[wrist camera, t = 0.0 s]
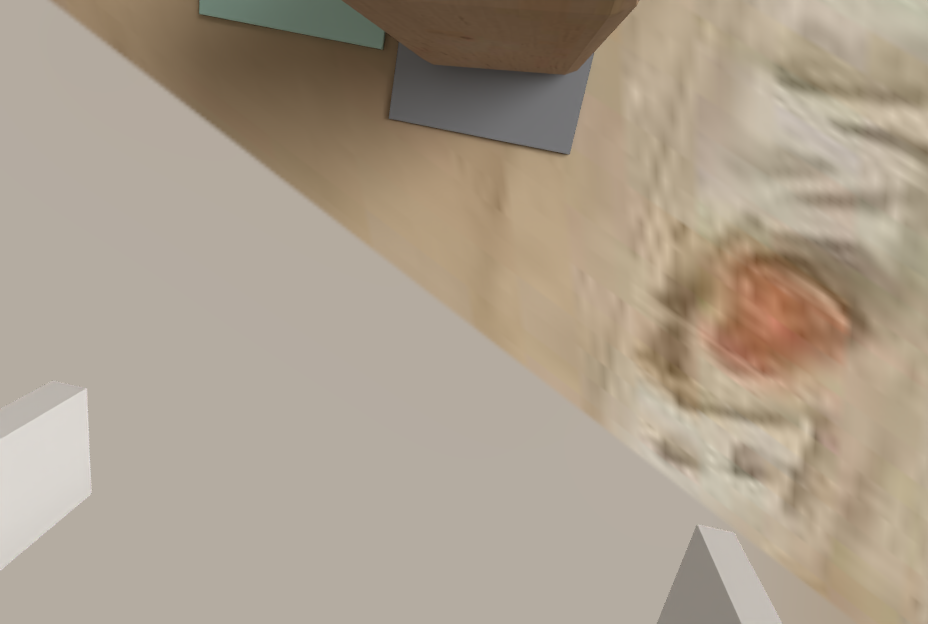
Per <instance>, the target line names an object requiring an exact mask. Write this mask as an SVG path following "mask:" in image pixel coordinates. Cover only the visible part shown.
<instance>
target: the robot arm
mask: <svg viewBox="0 0 928 624" xmlns="http://www.w3.org/2000/svg"><path fill="white" fill-rule="evenodd" d="M88 428H89V425H88V403H87V388H84V387H80V386H76V385H71V384H67V383H62V382H57V381H53V380H52V381H51V382H49V383H47V384H45V385H43V386H41V387H39V388H37V389H36V390H34V391H32V392H30V393H28V394H26V395H24V396H22V397H21V398H19V399H17V400H15V401H13V402H11V403H9V404H7V405H6V406H4V407H2V408H0V570H2V569H3V568H4V567H5V566H6V565H7V564H9V563H10V562H11V561H12V560H14V559H15V558H16V557H17V556H18V555H19V554H20V553H22V552H23V551H24V550H25V549H27V548H28V547H29V546H30V545H31V544H33V543H34V542H35V541H36V540H37V539H38V538H40V537H41V536H42V535H43V534H44V533H45V532H47V531H48V530H49V529H50V528H51V527H53V526H54V525H55V524H56V523H57V522H58V521H60V520H61V519H62V518H63V517H65V516H66V515H67V514H68V513H69V512H70V511H71V510H73V509H74V508H75V507H76V506H77V505H79V504H80V503H81V502H82V501H84V500H85V499H86V498H87V497H88V496H89V495H91V471H90V450H89V449H90V448H89V429H88ZM657 624H782V622H781V620H780V618H779V616H778V614H777V612H776V611H775V609H774V607H773V605H772V603H771V601H770V599H769V597H768V595H767V593H766V592H765V590H764V588H763V586H762V584H761V582H760V580H759V578H758V577H757V575H756V573H755V571H754V569H753V567H752V565H751V563H750V561H749V559H748V557H747V556H746V554H745V552H744V550H743V548H742V546H741V544H740V542H739V541H738V538H737V537H736V535H735V533H734V532H730V531H726V530H721V529H717V528H712V527H708V526H703V525H699V524H697V526H696V528H695V531H694V533H693V536H692V538H691V541H690V543H689V546H688V548H687V550H686V553H685V556H684V558H683V560H682V563H681V565H680V568H679V570H678V573H677V575H676V578H675V580H674V583H673V585H672V587H671V590H670V592H669V595H668V597H667V600H666V602H665V605H664V607H663V610H662V612H661V615H660V617H659V620H658V622H657Z"/></svg>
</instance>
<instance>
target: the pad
mask: <svg viewBox="0 0 928 624" xmlns="http://www.w3.org/2000/svg"><path fill="white" fill-rule="evenodd" d="M199 14H202V15H207V16H212V17H217V18H222V19H227V20H232V21H237V22H243V23H248V24H253V25H258V26H263V27H268V28H273V29H279V30H284V31H289V32H294V33H299V34H304V35H309V36H315V37H320V38H325V39H330V40H335V41H340V42H345V43H351V44H356V45H361V46H366V47H371V48H376V49H381V50H383V48H384V40H385V31H383V30H382V29H381V28H379V27H378V26H377V25H375V24H374V23H372V22H371V21H370V20H368V19H367V18H365V17H364V16H363V15H361V14H360V13H359V12H357V11H356V10H354V9H353V8H352V7H350V6H349V5H347V4H346V3H345V2H343V1H342V0H199Z"/></svg>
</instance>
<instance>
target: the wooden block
mask: <svg viewBox="0 0 928 624" xmlns="http://www.w3.org/2000/svg"><path fill="white" fill-rule="evenodd" d="M342 1H343V2H345V3H346V4H347V5H349V6H350V7H352V8H353V9H354V10H356V11H357V12H359V13H360V14H361V15H363V16H364V17H365V18H367V19H368V20H370V21H371V22H372V23H374V24H375V25H377V26H378V27H379V28H381V29H382V30H383V31H385V32H386V33H388V34H389V35H390V36H392V37H393V38H394V39H396V40H397V41H399V42H400V43H401V44H403V45H404V46H406V47H407V48H408V49H410V50H411V51H412V52H414V53H415V54H417V55H418V56H419V57H421V58H422V59H424V60H426V61H428V62H429V63H431V64H433V65H443V66H456V67H469V68H482V69H495V70H508V71H521V72H534V73H547V74H560V75H566V74H569V73H571V72H574V71H577V70H578V69H579V68H580V67H581V66H582V65H583V64H584V63H585V61H586V60H587V59H588V58H589V57H590V56H591V55H592V54H593V53H594V52H595V51H596V49H597V48H598V47H599V46H600V45H601V44H602V43H603V42H604V41H605V40H606V38H607V37H608V36H609V35H610V34H611V33H612V32H613V31H614V30H615V29H616V28H617V26H618V25H619V24H620V23H621V22H622V21H623V20H624V19H625V18H626V17H627V16H628V14H629V13H630V12H631V11H632V10H633V9H634V8H635V7H636V6H637V4H638V2H639V0H342Z"/></svg>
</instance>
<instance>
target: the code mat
mask: <svg viewBox="0 0 928 624" xmlns="http://www.w3.org/2000/svg"><path fill="white" fill-rule="evenodd" d="M593 55H594V53H593V54H592V55H591V56H590V57H589V58H588V59H587V60H586V61H585V63H584V64H583V65H582V66H581V67H580V68H579V69H578V70H577V71H574V72H571V73H569V74H566V75H560V74H547V73H534V72H521V71H508V70H495V69H482V68H469V67H456V66H443V65H433V64H431V63H429V62H428V61H426V60H424V59H422V58H421V57H419V56H418V55H417V54H415V53H414V52H412V51H411V50H410V49H408V48H407V47H406V46H404V45H403V44H401V43H400V42H399V45H398V53H397V60H396V68H395V75H394V83H393V90H392V98H391V105H390V113H389V119H394V120H399V121H404V122H409V123H414V124H419V125H424V126H429V127H434V128H439V129H444V130H449V131H454V132H459V133H464V134H469V135H474V136H479V137H484V138H489V139H494V140H499V141H505V142H510V143H515V144H520V145H525V146H530V147H535V148H540V149H545V150H550V151H555V152H560V153H565V154H570V151H571V146H572V142H573V138H574V134H575V130H576V126H577V122H578V117H579V113H580V109H581V105H582V101H583V97H584V93H585V88H586V84H587V80H588V76H589V72H590V68H591V64H592V59H593Z"/></svg>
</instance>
